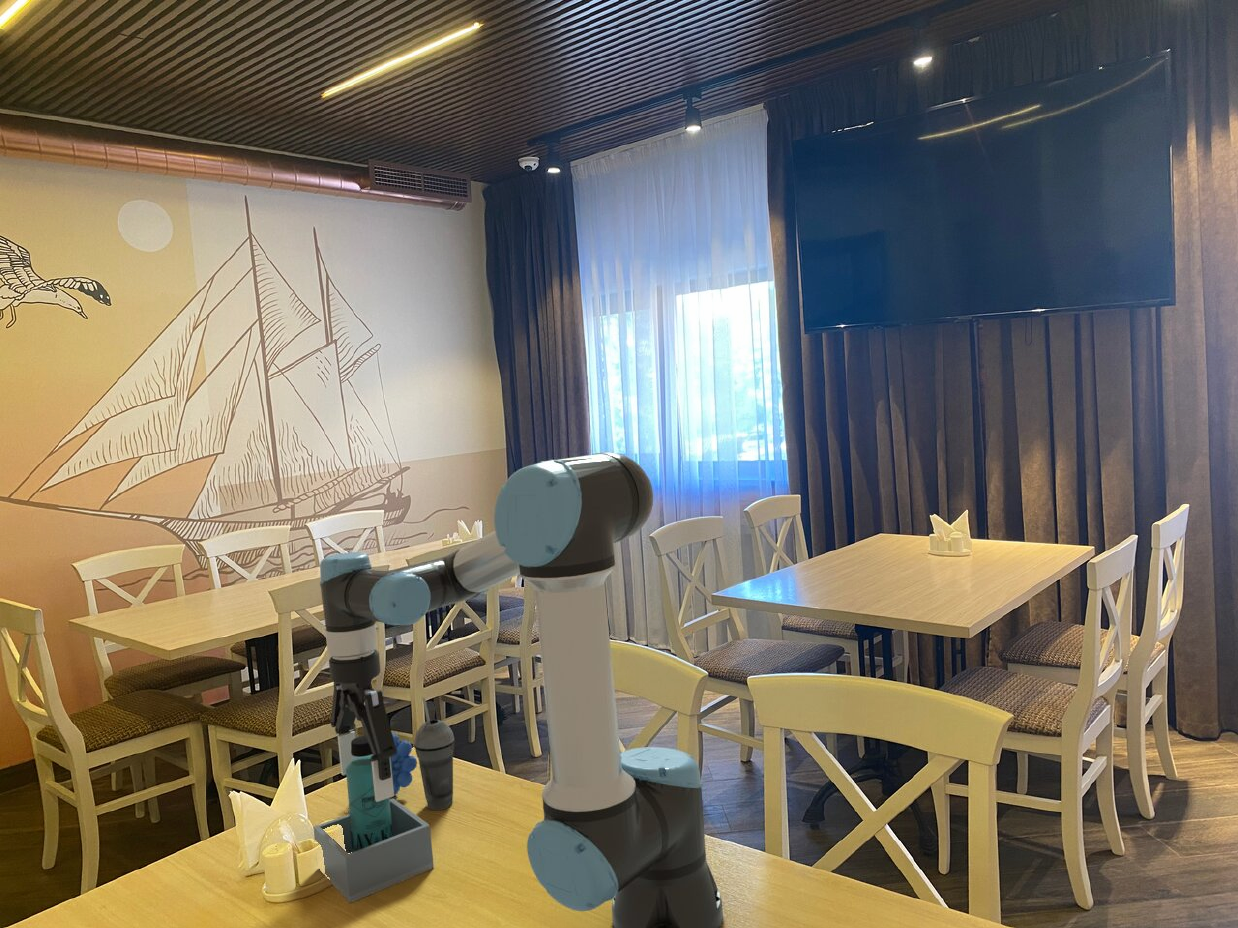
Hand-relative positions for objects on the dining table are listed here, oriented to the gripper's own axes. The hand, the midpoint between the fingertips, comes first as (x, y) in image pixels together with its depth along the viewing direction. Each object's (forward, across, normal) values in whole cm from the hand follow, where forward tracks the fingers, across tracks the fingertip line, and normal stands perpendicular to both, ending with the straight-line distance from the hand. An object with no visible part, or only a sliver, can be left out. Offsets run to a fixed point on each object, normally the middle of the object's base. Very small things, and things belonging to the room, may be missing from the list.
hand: (366, 784), depth 142 cm
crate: (+14, 0, 0) cm, 14 cm away
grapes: (+14, +24, -14) cm, 31 cm away
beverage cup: (+14, +13, -18) cm, 26 cm away
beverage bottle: (+13, 0, 0) cm, 13 cm away
